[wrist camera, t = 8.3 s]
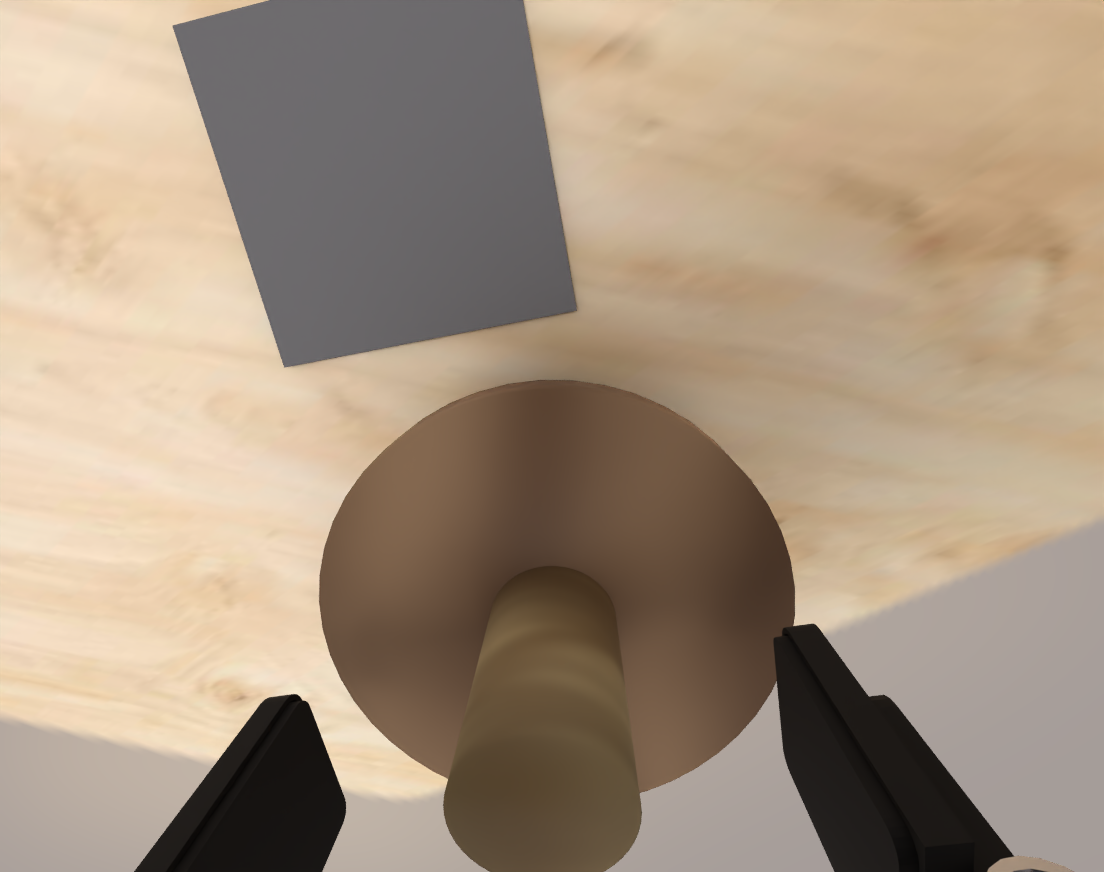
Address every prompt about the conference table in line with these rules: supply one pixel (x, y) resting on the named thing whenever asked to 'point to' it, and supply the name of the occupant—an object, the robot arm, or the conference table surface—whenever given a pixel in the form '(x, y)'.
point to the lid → (555, 612)
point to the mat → (383, 167)
